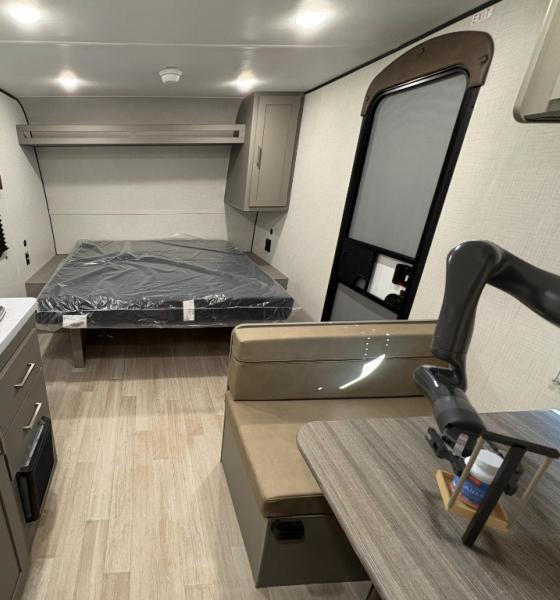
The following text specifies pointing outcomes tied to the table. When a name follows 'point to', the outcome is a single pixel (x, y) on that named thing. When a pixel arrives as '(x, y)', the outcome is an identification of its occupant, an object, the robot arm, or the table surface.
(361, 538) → the table surface
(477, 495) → the pill bottle
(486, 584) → the table surface
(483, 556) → the table surface
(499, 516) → the hanging stand
